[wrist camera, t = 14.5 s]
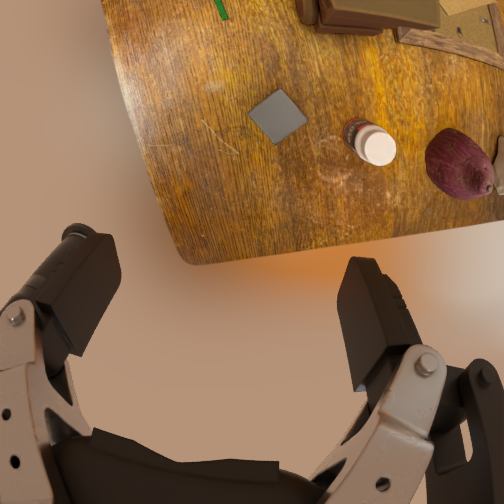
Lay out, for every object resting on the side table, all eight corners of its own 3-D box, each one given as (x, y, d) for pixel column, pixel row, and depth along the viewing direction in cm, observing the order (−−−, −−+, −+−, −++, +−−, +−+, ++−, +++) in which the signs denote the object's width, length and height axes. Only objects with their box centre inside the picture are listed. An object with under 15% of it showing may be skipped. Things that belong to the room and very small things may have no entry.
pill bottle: (354, 111, 31) (377, 119, 24) (380, 131, 33) (406, 145, 26) (335, 137, 34) (353, 152, 27) (361, 157, 35) (383, 176, 28)
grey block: (274, 138, 35) (274, 145, 30) (249, 110, 33) (246, 114, 28) (303, 116, 33) (308, 120, 28) (279, 87, 31) (280, 87, 26)
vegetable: (410, 168, 38) (432, 210, 27) (435, 115, 31) (471, 136, 20) (457, 196, 37) (486, 246, 26) (483, 148, 30) (526, 184, 19)
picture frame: (484, -19, 11) (367, -58, 14) (490, -20, 10) (371, -62, 13) (504, 70, 21) (395, 42, 25) (510, 71, 20) (400, 41, 23)
